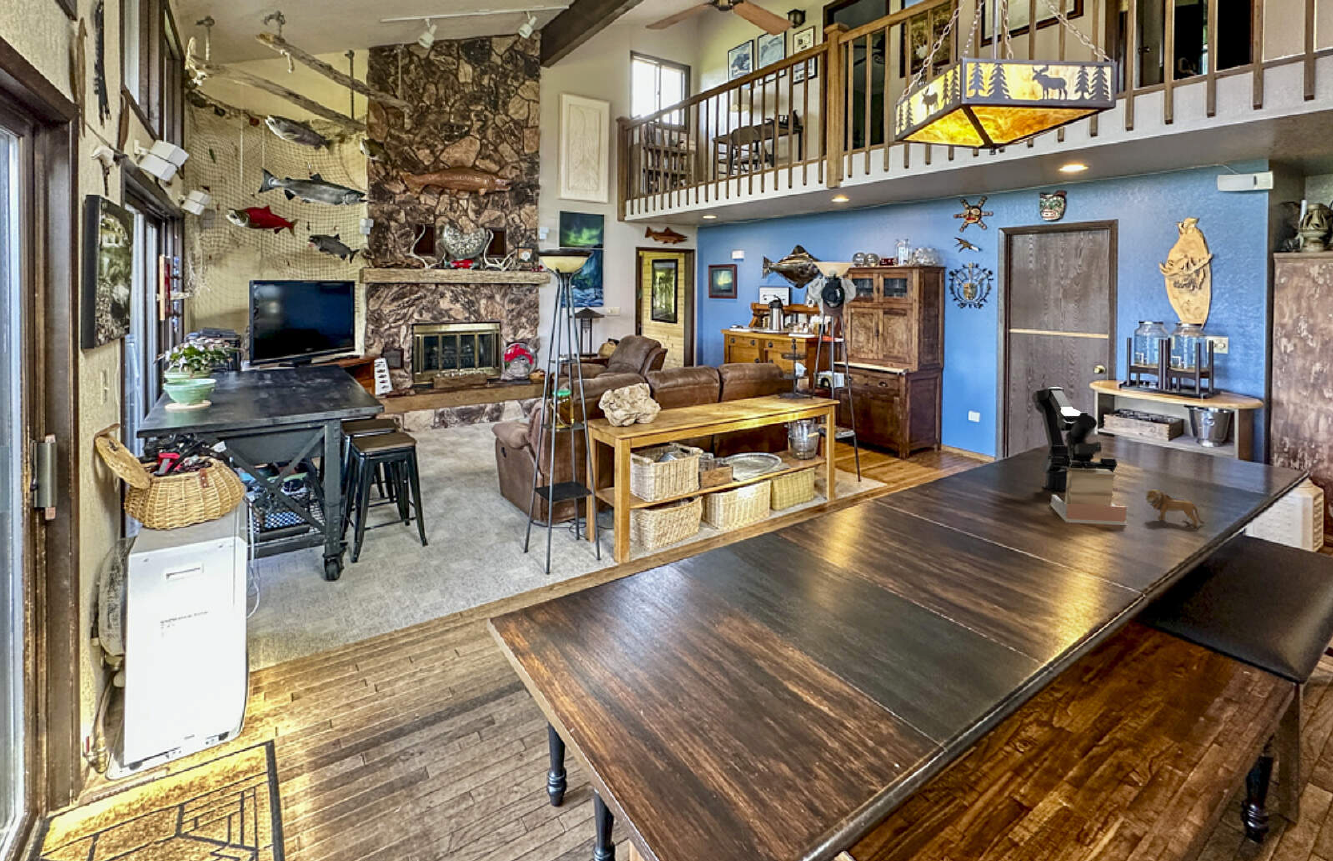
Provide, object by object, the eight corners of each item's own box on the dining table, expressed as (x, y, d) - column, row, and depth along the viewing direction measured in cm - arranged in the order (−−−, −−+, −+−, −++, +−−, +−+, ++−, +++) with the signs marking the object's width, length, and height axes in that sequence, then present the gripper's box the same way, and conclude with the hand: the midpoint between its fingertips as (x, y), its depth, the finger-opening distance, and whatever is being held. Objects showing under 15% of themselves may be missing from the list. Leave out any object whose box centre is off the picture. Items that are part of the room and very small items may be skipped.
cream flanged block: (1063, 507, 220) (1066, 468, 218) (1104, 509, 217) (1107, 469, 215) (1069, 513, 214) (1072, 472, 212) (1111, 515, 211) (1115, 474, 208)
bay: (1050, 504, 227) (1051, 488, 226) (1105, 507, 223) (1106, 490, 222) (1066, 522, 209) (1067, 504, 208) (1126, 525, 205) (1128, 507, 204)
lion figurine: (1143, 519, 210) (1146, 490, 208) (1144, 514, 214) (1147, 486, 212) (1204, 527, 201) (1207, 497, 199) (1204, 522, 205) (1207, 493, 204)
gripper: (1051, 432, 222) (1058, 473, 213) (1117, 433, 217) (1127, 475, 208) (1043, 451, 231) (1050, 491, 222) (1107, 452, 226) (1116, 494, 217)
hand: (1085, 487), depth 217 cm, fingers closed, pressing on cream flanged block
